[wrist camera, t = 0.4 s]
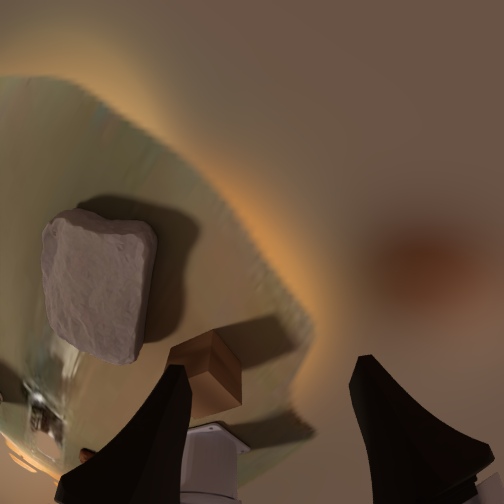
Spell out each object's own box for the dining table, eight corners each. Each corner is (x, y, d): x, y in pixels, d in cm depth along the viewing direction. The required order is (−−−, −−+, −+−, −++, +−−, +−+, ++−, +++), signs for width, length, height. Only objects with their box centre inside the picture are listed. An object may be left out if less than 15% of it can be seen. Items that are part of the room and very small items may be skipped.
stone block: (70, 309, 23) (152, 351, 23) (40, 330, 19) (127, 384, 18) (75, 193, 20) (173, 225, 19) (35, 200, 15) (139, 241, 15)
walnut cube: (200, 378, 24) (195, 419, 20) (171, 347, 23) (159, 388, 18) (241, 362, 24) (242, 405, 19) (213, 328, 22) (207, 371, 17)
